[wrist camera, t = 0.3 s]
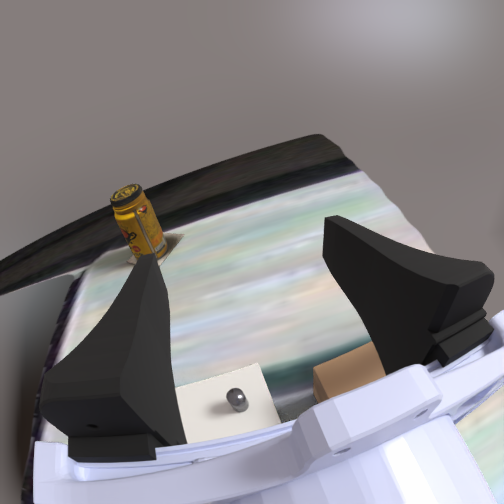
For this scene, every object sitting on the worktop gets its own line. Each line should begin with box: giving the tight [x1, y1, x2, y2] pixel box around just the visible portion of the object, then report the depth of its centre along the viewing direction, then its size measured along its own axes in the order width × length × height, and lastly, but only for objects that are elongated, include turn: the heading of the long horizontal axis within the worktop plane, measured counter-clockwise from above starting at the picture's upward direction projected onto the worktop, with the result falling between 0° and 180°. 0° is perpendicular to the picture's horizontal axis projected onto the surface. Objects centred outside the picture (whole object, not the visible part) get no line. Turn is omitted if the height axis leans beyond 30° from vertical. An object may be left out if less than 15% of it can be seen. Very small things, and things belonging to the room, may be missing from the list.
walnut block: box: [313, 342, 386, 404], centre depth 24 cm, size 4×8×6 cm, turn 107°
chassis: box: [175, 363, 281, 444], centre depth 22 cm, size 16×18×4 cm
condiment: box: [110, 184, 184, 266], centre depth 46 cm, size 7×8×12 cm
